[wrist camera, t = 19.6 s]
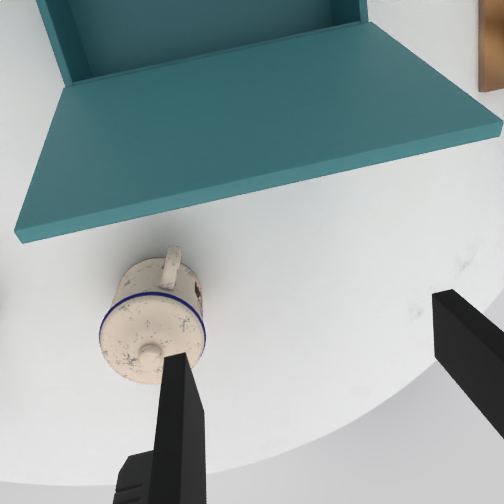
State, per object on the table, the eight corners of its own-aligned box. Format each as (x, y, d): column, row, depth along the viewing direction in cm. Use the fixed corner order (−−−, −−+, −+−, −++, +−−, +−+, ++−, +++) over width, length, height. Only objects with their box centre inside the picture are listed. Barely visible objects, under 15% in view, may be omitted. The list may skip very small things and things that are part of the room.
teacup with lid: (191, 339, 49) (190, 414, 38) (107, 322, 47) (81, 396, 36) (222, 240, 45) (230, 292, 34) (131, 217, 43) (110, 265, 33)
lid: (12, 231, 19) (21, 244, 20) (504, 120, 20) (500, 136, 21) (63, 87, 31) (67, 98, 32) (371, 21, 32) (371, 33, 32)
